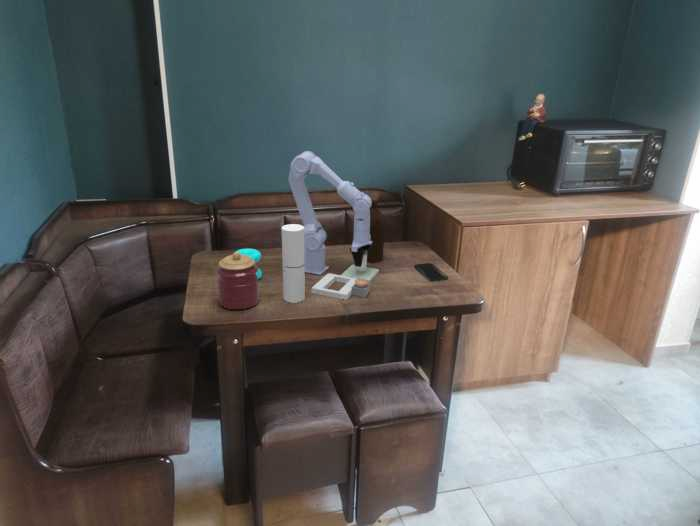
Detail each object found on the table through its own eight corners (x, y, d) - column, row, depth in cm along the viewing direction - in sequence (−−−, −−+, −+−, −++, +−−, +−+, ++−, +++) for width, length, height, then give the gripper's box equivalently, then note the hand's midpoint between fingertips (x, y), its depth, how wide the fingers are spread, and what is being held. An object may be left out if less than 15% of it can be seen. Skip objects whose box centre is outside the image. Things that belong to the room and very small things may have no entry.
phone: (431, 262, 208) (449, 277, 195) (431, 265, 209) (448, 280, 195) (412, 264, 206) (429, 280, 193) (412, 267, 206) (429, 282, 193)
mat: (340, 277, 195) (340, 275, 194) (352, 267, 204) (352, 264, 204) (369, 282, 191) (369, 280, 191) (379, 271, 200) (379, 269, 200)
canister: (261, 308, 170) (259, 257, 164) (220, 313, 167) (216, 261, 160) (256, 291, 182) (254, 243, 175) (218, 295, 178) (214, 246, 172)
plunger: (352, 294, 181) (352, 282, 180) (357, 289, 185) (357, 277, 184) (364, 296, 180) (365, 284, 178) (369, 291, 184) (369, 279, 182)
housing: (311, 293, 182) (311, 285, 181) (328, 278, 194) (328, 270, 193) (360, 303, 176) (360, 294, 175) (374, 286, 188) (374, 279, 187)
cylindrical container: (296, 305, 173) (295, 232, 164) (279, 299, 177) (276, 228, 167) (309, 297, 179) (308, 226, 170) (292, 291, 182) (290, 222, 173)
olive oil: (389, 258, 214) (392, 198, 204) (373, 265, 206) (376, 203, 196) (368, 251, 220) (370, 193, 210) (352, 259, 212) (353, 198, 203)
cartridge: (352, 270, 195) (352, 251, 193) (356, 265, 200) (356, 247, 197) (364, 272, 194) (365, 253, 191) (368, 267, 198) (369, 249, 195)
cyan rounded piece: (236, 259, 183) (229, 249, 191) (238, 285, 186) (230, 275, 195) (264, 255, 187) (256, 245, 195) (265, 280, 191) (257, 270, 199)
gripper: (365, 236, 183) (363, 272, 188) (378, 224, 196) (377, 258, 201) (346, 233, 186) (345, 269, 191) (361, 222, 198) (359, 255, 203)
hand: (360, 263), depth 196 cm, fingers closed on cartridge, 4 cm apart
